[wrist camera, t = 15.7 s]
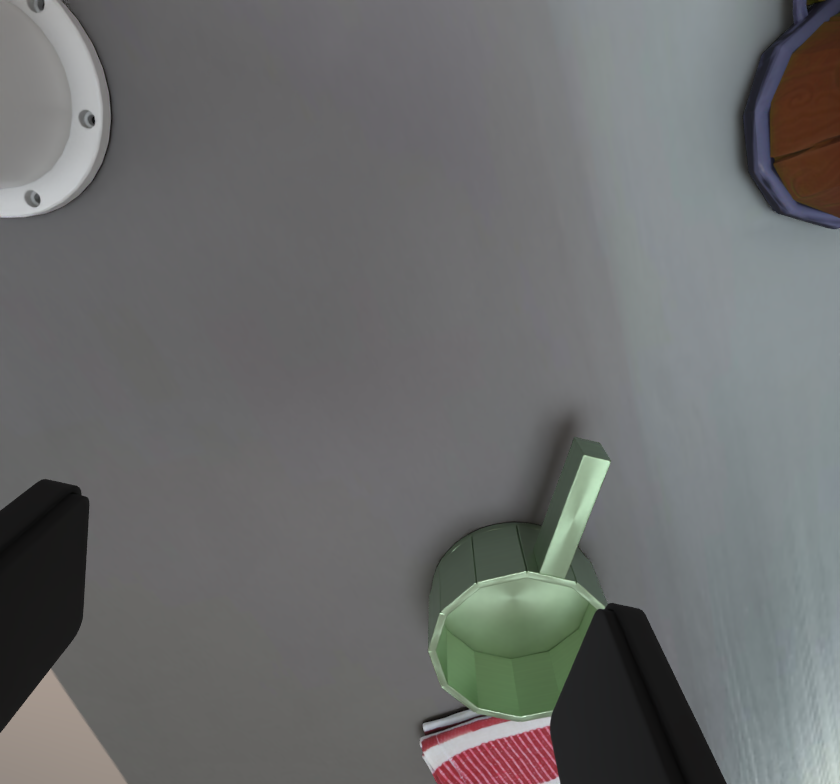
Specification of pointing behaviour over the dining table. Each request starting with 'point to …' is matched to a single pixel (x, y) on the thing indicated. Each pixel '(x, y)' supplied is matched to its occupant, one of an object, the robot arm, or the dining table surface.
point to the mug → (799, 117)
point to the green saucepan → (519, 601)
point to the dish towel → (489, 750)
